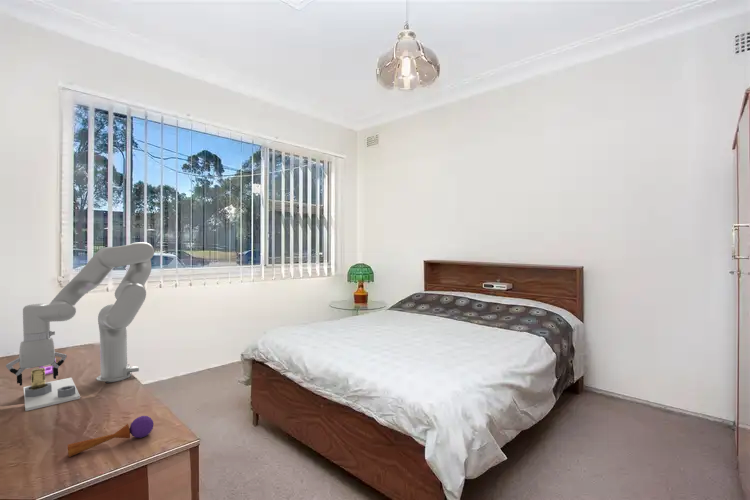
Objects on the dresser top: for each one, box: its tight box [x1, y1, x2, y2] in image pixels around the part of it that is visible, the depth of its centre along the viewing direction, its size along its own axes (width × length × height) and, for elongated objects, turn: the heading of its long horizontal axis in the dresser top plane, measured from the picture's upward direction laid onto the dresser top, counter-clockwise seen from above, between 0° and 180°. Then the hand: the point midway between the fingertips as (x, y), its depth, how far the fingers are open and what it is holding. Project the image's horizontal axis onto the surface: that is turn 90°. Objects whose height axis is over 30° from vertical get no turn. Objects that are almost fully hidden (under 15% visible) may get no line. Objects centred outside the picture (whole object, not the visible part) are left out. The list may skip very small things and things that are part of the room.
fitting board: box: [23, 377, 81, 412], centre depth 146 cm, size 15×28×4 cm, turn 44°
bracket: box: [38, 358, 57, 375], centre depth 171 cm, size 13×6×7 cm, turn 40°
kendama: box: [67, 415, 154, 458], centre depth 108 cm, size 6×6×20 cm
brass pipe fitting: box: [30, 367, 46, 389], centre depth 144 cm, size 4×4×9 cm
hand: (38, 381), depth 144 cm, fingers open, 9 cm apart
